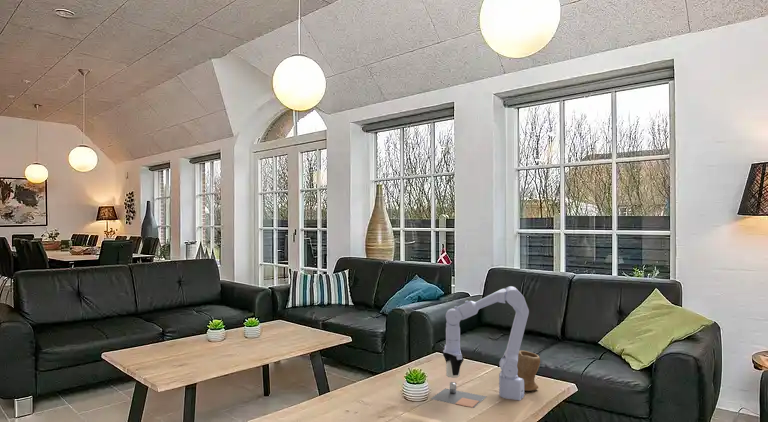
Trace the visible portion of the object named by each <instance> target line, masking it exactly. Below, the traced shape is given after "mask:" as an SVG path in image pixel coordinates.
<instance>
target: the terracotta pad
mask: <svg viewBox="0 0 768 422" xmlns="http://www.w3.org/2000/svg"><path fill="white" fill-rule="evenodd" d="M477 403H479V401H477V400H472V399H467V398H461V399H460V400H459V401H457V402H456V403H455V404H454V405H456V404H457V405H456V406H461V405H462V407H466V406H467V408H471V409H474V408H473V407H474V406H475V405H476V404H477ZM479 404H480V403H479Z"/></svg>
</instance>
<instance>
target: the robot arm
mask: <svg viewBox="0 0 768 422" xmlns="http://www.w3.org/2000/svg"><path fill="white" fill-rule="evenodd" d="M506 302H507V304H508V305H510V306H511V307H512V309H513V310H514V312H515V315H514V318H513V322H512V326H511V329H510V334H509V337H508V342H507V344H506V349H505V351H504V353H503V356H502V357H501V358H500V360H499V362H498V364H499V368H500V370H501V371H500V372H499V374H498V376H499V377H498V379H499V380H498V381H499V383H498V385H499V386H498V387H499V389H498V393H499V397H500V398H503V399H507V400H515V401H521V400H522V399H524V397H525V390H524V379H522V378H519V377H518V375H517V373H518V368H517V363H518V353H519V351H521V344H522V341H523V338H524V333H525V330H526V327H527V326H526V325H527V321H528V317H529V314H530V309H529V307H528V304H527V302H526V298H525V296H524V295H523V294H522V293H521V292H520V291H519V290H518V288H516V286H512V285H510V286H509V285H508V286H507V287H505V288H500V289H499V290H497V291H495V292H493V293H491V294H488V295H486V296H485V297H483V298H480V299H479V300H477V301H473V300H465V301H464V303H462V304H460V305H458V306H457V305H455V306H453V307H454V308H449V309H447V311H446V312H445V315H444V316H445V320H446V323H445V345H444V349H443V350H442V352H443V353H442V356H443V357H444V360H445V363H447V361H450V362H451V366H452V373H453V375H458V374H459V370H461V366H462V364H463V362H464V357H463V354H462V352H461V327H460V322H461V321H464V320H467V319H469V318H471V317H473V316H475V315H477V314H478V312H479V310H480V309H484V308H485V307H488V306H491V305H493V304H496V303H501V304H506Z"/></svg>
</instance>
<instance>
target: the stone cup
mask: <svg viewBox="0 0 768 422" xmlns="http://www.w3.org/2000/svg"><path fill="white" fill-rule="evenodd" d="M540 365H541V358H540V356H539V355H538V354H536V353H535V352H531V351H528V350H523V349H522V350H521V349H520V350H519V353H518V363H517V368H518V373H517V375H518V377H519V378H522V379H524V392H525V391H530V392H531V391H536V390H538V389H539V385H538V384H537V383H536V382H535V378H536V375H537V372H538V370H539V368H540Z"/></svg>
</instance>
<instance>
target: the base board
mask: <svg viewBox="0 0 768 422" xmlns="http://www.w3.org/2000/svg"><path fill="white" fill-rule="evenodd" d="M461 398H467V399H472V400H477V401H479V403H477V404H476V405H475V406H474V407H473V408H472V409H474V408H476V407H477V406H478V405H479V404H480V403H482V402H483V401H484V399H486V398H487V395H481V394H475V393H470V392H466V391H460V390H456V394H450V388H444V389H442V390H440V391H439V392H438V393H437V394H435V395H434V396H433V397H431V398H430V400H434V401H437V402H438V401H439V402H443V403H447V404H453V405H456V406H458V405H457V404H455V403H456V402H457V401H459V400H460V399H461ZM460 406H462V405H460ZM462 407H463V406H462ZM465 407H467V406H465ZM467 408H468V407H467Z"/></svg>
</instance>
